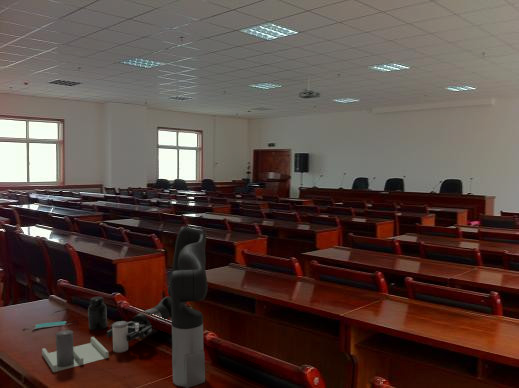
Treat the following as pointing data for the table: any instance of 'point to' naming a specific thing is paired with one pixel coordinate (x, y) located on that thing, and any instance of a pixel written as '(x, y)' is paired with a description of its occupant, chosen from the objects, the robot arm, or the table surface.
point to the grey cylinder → (64, 348)
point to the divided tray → (78, 355)
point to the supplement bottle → (97, 314)
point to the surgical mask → (51, 324)
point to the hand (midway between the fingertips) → (117, 336)
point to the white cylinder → (120, 336)
